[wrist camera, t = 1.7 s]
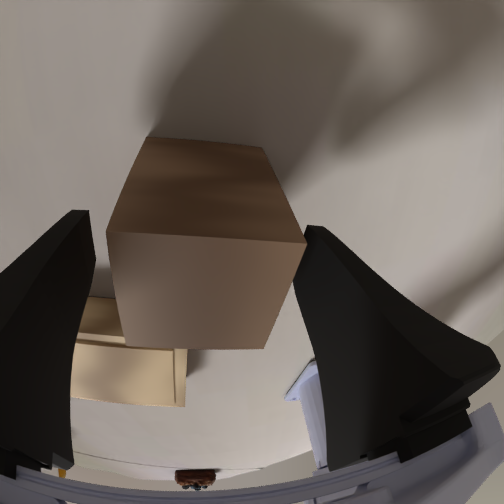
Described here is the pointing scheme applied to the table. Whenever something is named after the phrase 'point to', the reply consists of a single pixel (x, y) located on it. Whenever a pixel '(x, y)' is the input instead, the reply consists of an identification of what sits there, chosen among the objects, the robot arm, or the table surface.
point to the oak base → (123, 363)
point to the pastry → (195, 478)
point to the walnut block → (201, 246)
